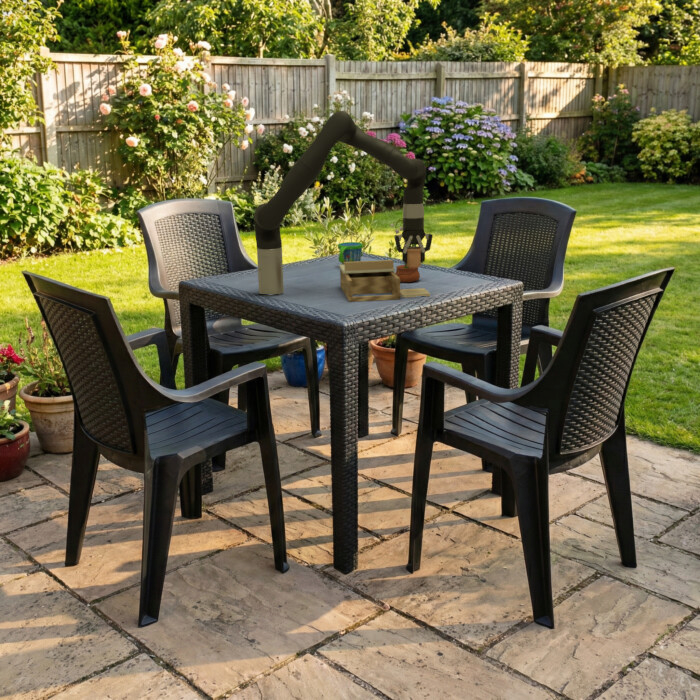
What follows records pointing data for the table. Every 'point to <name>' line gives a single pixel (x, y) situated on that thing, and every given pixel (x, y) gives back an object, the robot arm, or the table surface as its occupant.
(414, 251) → the clay pot
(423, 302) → the table surface
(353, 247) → the snack cup
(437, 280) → the table surface
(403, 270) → the potted flower
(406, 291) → the stone tile
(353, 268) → the lid
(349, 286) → the open wooden frame
